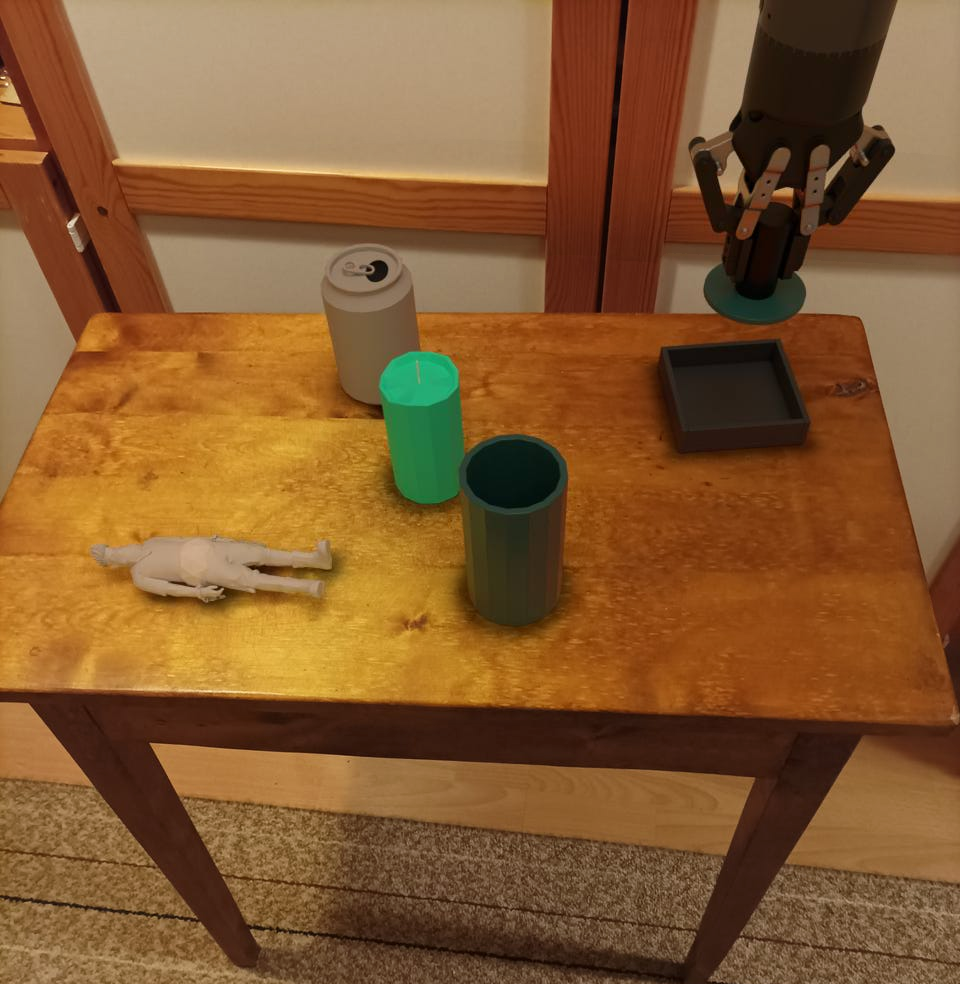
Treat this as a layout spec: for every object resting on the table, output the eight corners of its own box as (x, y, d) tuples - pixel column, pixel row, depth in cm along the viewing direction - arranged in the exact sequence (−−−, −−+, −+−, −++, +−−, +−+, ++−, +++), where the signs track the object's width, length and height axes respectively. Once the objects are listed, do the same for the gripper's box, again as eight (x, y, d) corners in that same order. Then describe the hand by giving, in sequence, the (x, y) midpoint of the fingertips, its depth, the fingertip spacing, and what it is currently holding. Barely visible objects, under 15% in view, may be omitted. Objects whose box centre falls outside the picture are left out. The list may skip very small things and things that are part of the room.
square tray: (773, 360, 82) (780, 337, 80) (803, 444, 76) (811, 422, 74) (657, 369, 82) (660, 346, 80) (678, 453, 76) (682, 431, 74)
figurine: (318, 590, 65) (66, 578, 65) (324, 625, 68) (84, 613, 68) (331, 520, 69) (95, 508, 69) (336, 555, 72) (110, 544, 72)
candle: (432, 440, 78) (419, 323, 68) (481, 476, 75) (475, 359, 65) (380, 478, 76) (358, 362, 66) (428, 516, 73) (413, 402, 63)
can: (422, 410, 80) (407, 292, 70) (337, 412, 80) (311, 295, 70) (426, 354, 84) (412, 234, 74) (345, 355, 84) (321, 237, 74)
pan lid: (788, 266, 72) (813, 179, 66) (814, 328, 68) (842, 241, 62) (693, 273, 72) (709, 186, 66) (712, 335, 68) (731, 249, 62)
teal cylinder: (555, 548, 71) (561, 430, 60) (565, 622, 67) (573, 509, 57) (466, 555, 71) (456, 437, 60) (470, 629, 67) (461, 517, 57)
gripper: (718, 54, 51) (674, 313, 66) (965, 37, 51) (866, 300, 66) (693, -5, 55) (656, 251, 70) (922, -20, 55) (838, 238, 70)
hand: (759, 273), depth 68 cm, fingers closed on pan lid, 3 cm apart
